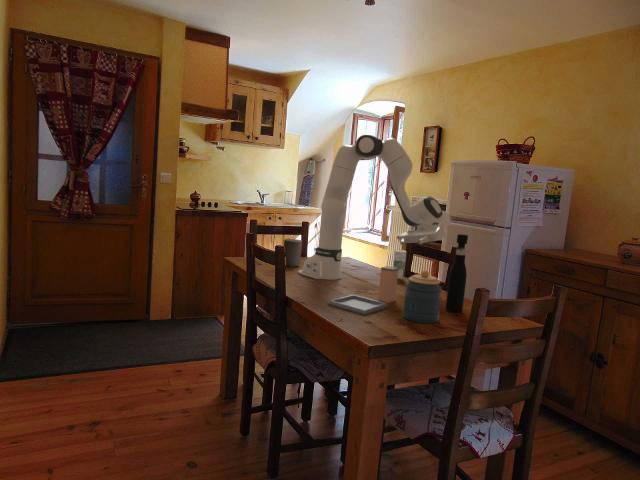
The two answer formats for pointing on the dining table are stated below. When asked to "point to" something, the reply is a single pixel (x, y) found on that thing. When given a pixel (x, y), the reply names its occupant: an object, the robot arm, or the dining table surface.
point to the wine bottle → (457, 278)
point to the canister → (422, 298)
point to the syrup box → (399, 262)
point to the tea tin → (388, 284)
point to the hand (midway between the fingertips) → (410, 242)
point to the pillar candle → (293, 252)
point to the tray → (358, 304)
